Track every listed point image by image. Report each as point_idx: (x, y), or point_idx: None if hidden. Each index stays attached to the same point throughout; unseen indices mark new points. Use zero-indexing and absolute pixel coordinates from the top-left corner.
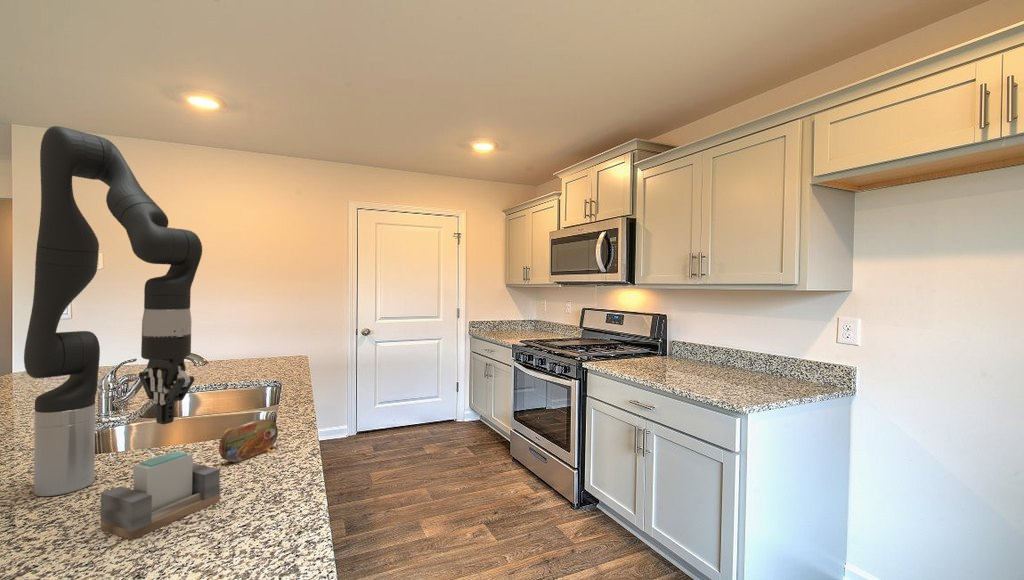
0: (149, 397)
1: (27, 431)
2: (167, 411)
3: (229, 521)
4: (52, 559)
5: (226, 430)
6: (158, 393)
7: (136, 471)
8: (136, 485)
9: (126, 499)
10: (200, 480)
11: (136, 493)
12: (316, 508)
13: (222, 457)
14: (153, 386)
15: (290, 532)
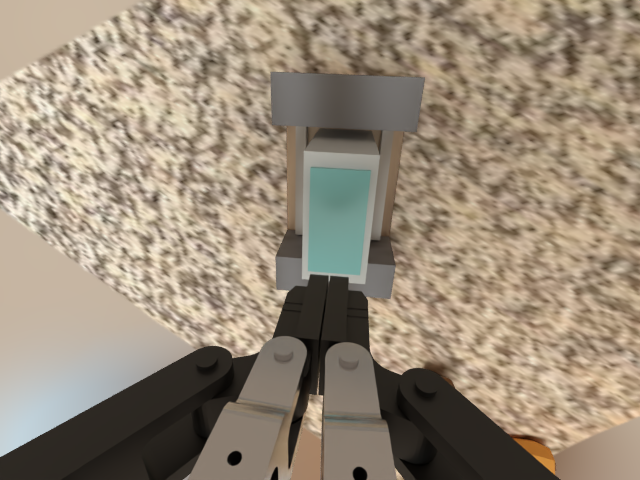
0: (420, 377)
1: None
2: (278, 323)
3: (193, 200)
4: None
5: (554, 470)
6: (326, 412)
7: (363, 150)
8: (361, 142)
9: (306, 78)
10: (296, 249)
11: (322, 116)
12: (109, 282)
13: (446, 378)
14: (342, 463)
15: (64, 208)
